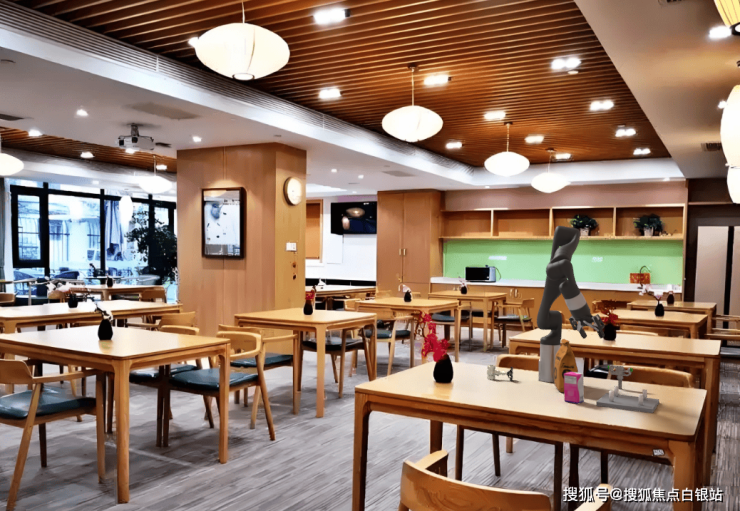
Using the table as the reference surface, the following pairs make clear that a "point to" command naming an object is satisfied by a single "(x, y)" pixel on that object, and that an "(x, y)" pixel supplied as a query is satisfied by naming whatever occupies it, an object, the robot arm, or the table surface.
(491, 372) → the valve
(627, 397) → the peg cradle
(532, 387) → the table surface
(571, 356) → the coffee package
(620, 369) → the mechanical component
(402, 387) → the table surface
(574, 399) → the supplement box
